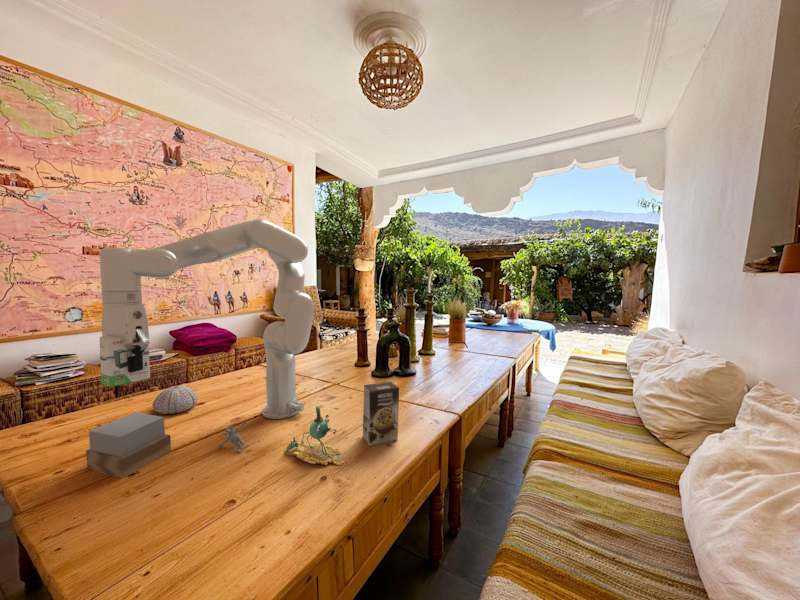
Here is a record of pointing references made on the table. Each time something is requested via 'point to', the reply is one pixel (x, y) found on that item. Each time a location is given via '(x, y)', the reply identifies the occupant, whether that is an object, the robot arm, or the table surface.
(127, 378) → the ink box
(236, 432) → the elephant figurine
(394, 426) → the coffee box
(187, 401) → the sea urchin shell
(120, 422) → the tower top
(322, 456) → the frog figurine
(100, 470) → the tower bottom
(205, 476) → the table surface
